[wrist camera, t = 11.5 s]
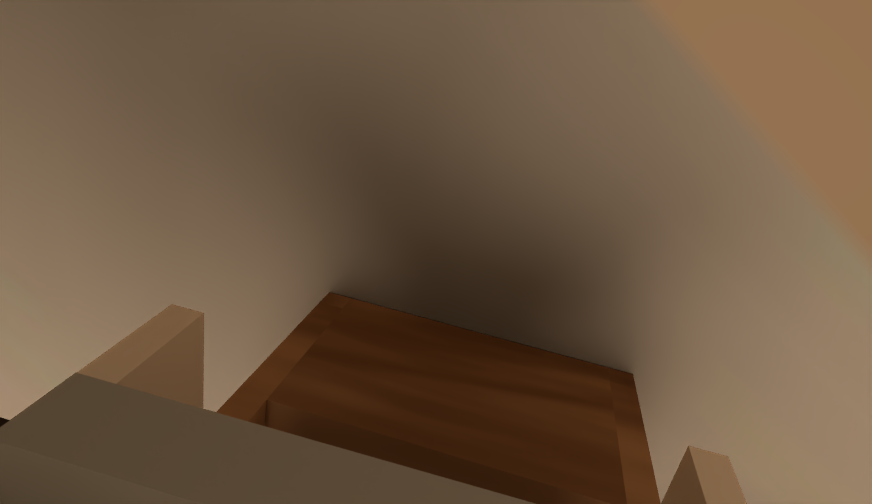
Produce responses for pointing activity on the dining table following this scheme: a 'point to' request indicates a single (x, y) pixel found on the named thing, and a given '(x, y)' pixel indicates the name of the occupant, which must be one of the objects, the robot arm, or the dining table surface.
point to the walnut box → (454, 405)
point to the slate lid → (190, 458)
